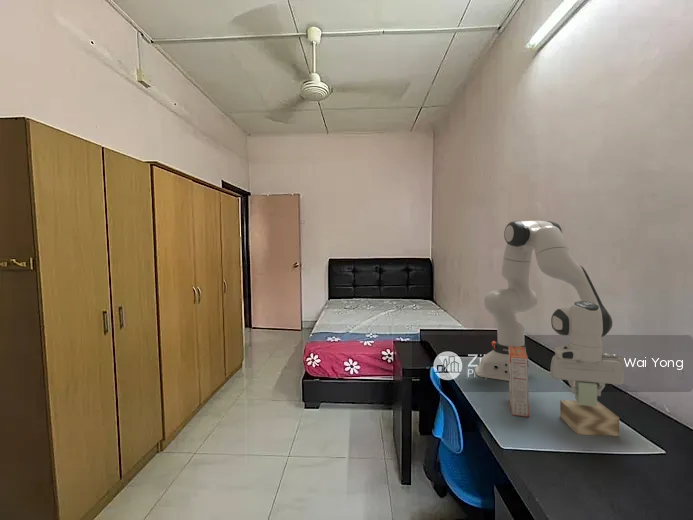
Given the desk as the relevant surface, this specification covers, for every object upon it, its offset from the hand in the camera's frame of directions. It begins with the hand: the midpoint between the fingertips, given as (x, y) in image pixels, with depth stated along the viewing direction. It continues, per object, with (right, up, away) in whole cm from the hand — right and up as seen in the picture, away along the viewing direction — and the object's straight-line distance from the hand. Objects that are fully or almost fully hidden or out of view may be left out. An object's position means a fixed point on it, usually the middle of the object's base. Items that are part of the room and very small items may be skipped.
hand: (585, 394), depth 122 cm
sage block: (0, -3, 0) cm, 3 cm away
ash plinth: (+1, -10, 0) cm, 10 cm away
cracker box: (-16, -10, +14) cm, 23 cm away
